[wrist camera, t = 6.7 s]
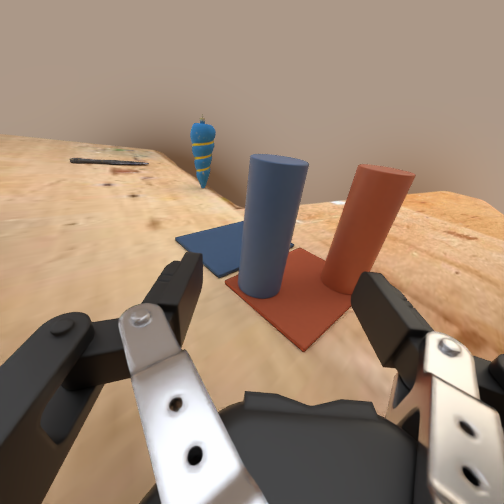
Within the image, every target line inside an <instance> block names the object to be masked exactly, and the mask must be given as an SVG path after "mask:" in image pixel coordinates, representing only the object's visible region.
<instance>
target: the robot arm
mask: <svg viewBox="0 0 504 504" xmlns="http://www.w3.org/2000/svg"><path fill="white" fill-rule="evenodd" d="M202 283H203V255H202V253H194V252H186V253H185V255H184V257H183V258H182V260H181V261H173V262H171V263H170V264H168V265H167V266H166V267H165V268H164V270H163V271H162V273H161V275H160V276H159V277H158V279H157V281H156V282H155V284H154V285H153V287H152V288H151V290H150V291H149V293H148V294H147V296H146V297H145V299H144V300H143V302H142V303H141V304H139V305H135V306H133V307H131V308H129V309H128V310H126V311H125V312H124V313H123V314H122V315H121V317H120V318H116V319H111V320H104V321H97V322H91V320H90V317H89V316H88V315H87V314H85V313H81V312H71V313H66V314H62V315H59V316H57V317H54V318H52V319H50V320H49V321H47V322H46V323H44V324H43V325H42V326H41V327H39V328H38V329H37V330H36V331H35V332H34V333H33V334H32V335H31V336H30V337H29V338H28V339H27V340H26V341H25V342H24V343H23V344H22V345H21V346H20V347H19V348H18V349H17V350H16V351H15V352H14V353H13V354H12V355H11V356H10V357H9V359H8V360H7V361H6V362H5V363H4V364H3V365H2V366H1V367H0V504H41V503H42V501H43V500H44V498H45V496H46V494H47V492H48V490H49V488H50V486H51V484H52V483H53V481H54V479H55V477H56V475H57V473H58V471H59V469H60V467H61V466H62V464H63V462H64V460H65V458H66V456H67V454H68V452H69V450H70V449H71V447H72V445H73V443H74V441H75V439H76V437H77V435H78V433H79V432H80V430H81V428H82V426H83V424H84V422H85V420H86V418H87V416H88V415H89V413H90V411H91V409H92V407H93V405H94V403H95V401H96V399H97V398H98V396H99V394H100V392H101V390H102V388H103V386H104V384H106V383H110V382H115V381H119V380H123V379H127V378H131V382H132V386H133V390H134V394H135V398H136V402H137V406H138V410H139V414H140V418H141V423H142V427H143V431H144V435H145V439H146V443H147V447H148V451H149V455H150V459H151V463H152V467H153V471H154V476H155V480H156V484H155V485H154V486H153V487H152V488H151V490H150V491H149V492H148V493H147V494H146V496H145V497H144V498H143V499H142V500H141V502H140V503H139V504H504V354H501V355H499V356H498V357H497V358H496V359H495V360H493V361H492V362H491V361H488V360H485V359H482V358H479V357H476V356H473V355H472V354H471V353H470V351H469V350H468V349H467V348H466V347H465V346H464V345H463V344H461V343H460V342H459V341H457V340H456V339H454V338H452V337H451V336H449V335H446V334H444V333H441V332H435V331H434V330H433V329H432V328H431V327H430V325H429V324H428V323H427V322H426V321H425V320H424V318H423V317H422V316H421V315H420V314H419V313H418V311H417V310H416V309H415V308H413V306H412V304H411V303H410V302H409V301H407V299H406V297H405V296H404V295H403V294H402V293H401V292H400V291H399V290H398V289H396V288H395V287H394V286H392V285H391V284H390V283H389V282H388V281H387V280H386V278H385V277H384V276H383V275H382V274H381V273H375V272H366V271H364V272H362V273H361V275H360V277H359V279H358V281H357V284H356V286H355V288H354V290H353V293H352V295H351V306H352V308H353V310H354V312H355V314H356V316H357V318H358V320H359V322H360V324H361V326H362V328H363V329H364V331H365V333H366V335H367V337H368V339H369V341H370V343H371V345H372V347H373V349H374V351H375V353H376V355H377V357H378V358H379V360H380V362H381V364H382V366H383V367H388V368H396V369H397V371H398V372H397V374H396V375H395V376H394V380H393V385H392V390H391V394H390V399H389V404H388V409H387V413H386V416H385V418H384V417H382V416H380V415H377V413H376V411H375V408H374V406H373V403H372V402H366V401H355V400H343V399H341V400H336V401H332V402H328V403H324V404H319V405H315V406H309V405H306V404H303V403H300V402H298V401H295V400H292V399H289V398H287V397H284V396H281V395H279V394H273V393H261V392H250V391H245V394H244V400H243V401H242V402H238V403H235V404H232V405H230V406H228V407H226V408H224V409H222V410H221V411H219V412H217V410H216V408H215V406H214V404H213V402H212V400H211V398H210V396H209V394H208V392H207V390H206V388H205V386H204V384H203V382H202V380H201V378H200V376H199V374H198V372H197V370H196V368H195V366H194V363H193V361H192V359H191V357H190V356H189V354H188V352H187V351H186V350H185V349H184V350H182V349H181V348H182V345H183V342H184V339H185V336H186V333H187V330H188V327H189V324H190V321H191V319H192V316H193V313H194V310H195V307H196V304H197V301H198V298H199V295H200V292H201V289H202Z"/></svg>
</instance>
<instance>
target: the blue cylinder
mask: <svg viewBox="0 0 504 504" xmlns="http://www.w3.org/2000/svg"><path fill="white" fill-rule="evenodd" d="M308 166H309V163H308V162H306V161H303V160H300V159H295V158H291V157H284V156H277V155H268V154H253V155H251V156H250V165H249V176H248V185H247V195H246V205H245V215H244V225H243V235H242V245H241V255H240V265H239V275H238V286H239V288H240V289H241V291H242V292H244V293H245V294H247V295H248V296H251V297H254V298H259V299H266V298H271V297H273V296H275V295H276V294H277V293H278V292H279V291H280V288H281V283H282V279H283V275H284V270H285V266H286V262H287V257H288V253H289V249H290V244H291V240H292V236H293V231H294V227H295V223H296V218H297V214H298V210H299V205H300V201H301V197H302V192H303V188H304V184H305V179H306V175H307V170H308Z"/></svg>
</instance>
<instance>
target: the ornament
mask: <svg viewBox="0 0 504 504" xmlns="http://www.w3.org/2000/svg"><path fill="white" fill-rule="evenodd" d="M214 138H215V129H214V128H213V126H211V125H208V124H205V119H203V118H200V124H199V123H194V124H193V126H192V129H191V141H192V144H193V147H192V151H193V155H194V157H195V167H196V170H197V173H196V174H197V178H198V180H199V182H200V184H201V187H202V188H205V186H206V183H207V180H208V177H209V174H210V164H211V160H212V151H213V148H214V141H213V140H214Z"/></svg>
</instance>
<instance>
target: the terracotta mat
mask: <svg viewBox="0 0 504 504" xmlns="http://www.w3.org/2000/svg"><path fill="white" fill-rule="evenodd" d="M325 262H326V261H325V260H323V259H321V258H319V257H317V256H315V255H313V254H311V253H309V252H308V251H306V250H304V249H302V248H298V249H295V250H293V251H291V252H289V253H288V257H287V262H286V266H285V270H284V275H283V279H282V283H281V288H280V291H279V292H278V293H277V294H276V295H275V296H273V297H271V298H266V299H259V298H254V297H251V296H248V295H247V294H245V293H244V292H242V291H241V289H240V288H239V286H238V275H239V274H238V275H236V276H234V277H232V278H229V279H227V280H225V284H226V285H227V286H229V287H230V288H231V289H232V290H233V291H234V292H235V293H237V294H238V295H239V296H240V297H241V298H242V299H243V300H245V301H246V302H247V303H248V304H249V305H250V306H251V307H253V308H254V309H255V310H256V311H257V312H258V313H259V314H261V315H262V316H263V317H264V318H265V319H266V320H268V321H269V322H270V323H271V324H272V325H273V326H274V327H276V328H277V329H278V330H279V331H280V332H281V333H282V334H284V335H285V336H286V337H287V338H288V339H289V340H290V341H292V342H293V343H294V344H295V345H296V346H297V347H298V348H300V349H301V350H302V351H303V352H304V351H305V350H306V349H307V348H308V347H309V346H310V345H311V344H312V343H314V342H315V341H316V340H317V339H318V338H319V337H320V336H321V335H322V334H323V333H324V332H325V331H326V330H327V329H328V328H329V327H330V326H331V325H332V324H333V323H334V322H335V321H336V320H337V319H338V318H339V317H340V316H341V315H342V314H343V313H345V312H346V311H347V310H348V309H349V308H350V307H351V295H347V294H342V293H339V292H336V291H334V290H332V289H330V288H329V287H328V286H326V285H325V284H324V283H323V281H322V279H321V273H322V271H323V268H324V265H325Z"/></svg>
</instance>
